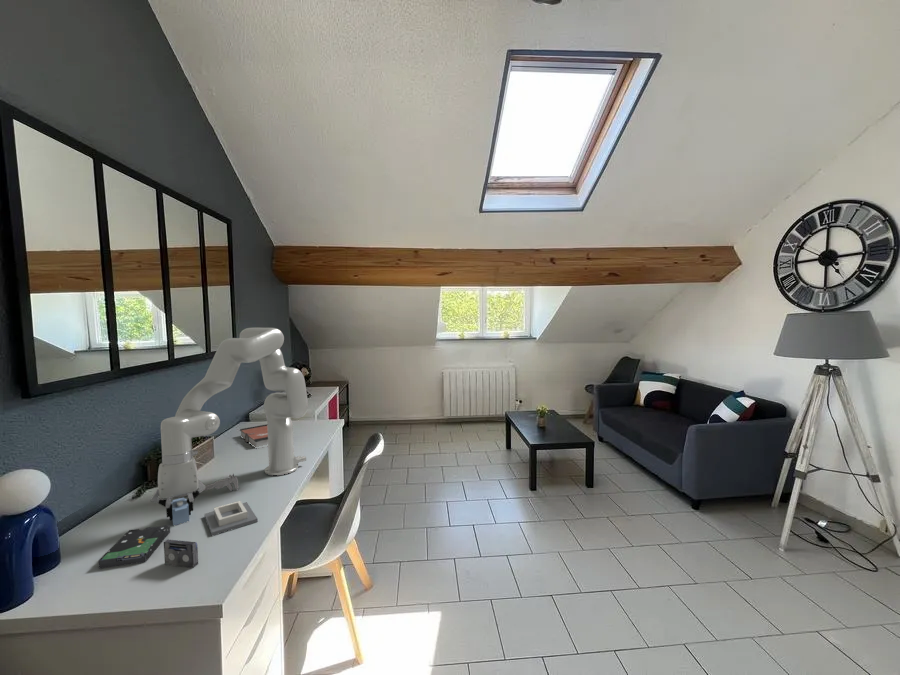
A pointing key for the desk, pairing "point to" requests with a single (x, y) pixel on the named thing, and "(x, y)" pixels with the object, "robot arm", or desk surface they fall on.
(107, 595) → the desk surface
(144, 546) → the disk drive
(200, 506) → the desk surface
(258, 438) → the book
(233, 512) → the plate
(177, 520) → the servo block
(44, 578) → the desk surface
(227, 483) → the caliper
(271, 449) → the robot arm
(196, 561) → the mini dv tape
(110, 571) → the desk surface
